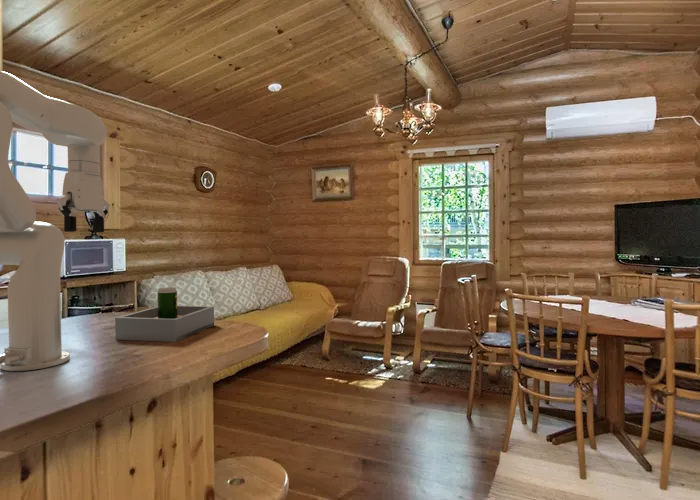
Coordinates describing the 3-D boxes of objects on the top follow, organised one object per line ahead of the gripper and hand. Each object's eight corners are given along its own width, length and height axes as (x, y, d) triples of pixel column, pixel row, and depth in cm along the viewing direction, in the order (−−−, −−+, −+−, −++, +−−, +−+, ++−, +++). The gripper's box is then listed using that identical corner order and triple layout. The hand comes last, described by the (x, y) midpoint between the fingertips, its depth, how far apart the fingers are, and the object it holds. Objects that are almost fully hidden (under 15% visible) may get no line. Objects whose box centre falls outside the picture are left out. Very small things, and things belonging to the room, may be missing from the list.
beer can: (161, 331, 125) (160, 290, 124) (155, 328, 129) (155, 288, 128) (180, 328, 128) (179, 288, 128) (174, 325, 132) (173, 286, 132)
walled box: (175, 341, 116) (175, 319, 116) (115, 339, 119) (115, 317, 119) (214, 325, 138) (213, 306, 138) (162, 323, 141) (162, 305, 141)
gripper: (96, 175, 128) (97, 232, 129) (44, 164, 111) (45, 231, 112) (118, 174, 127) (119, 232, 127) (69, 163, 110) (70, 231, 110)
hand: (85, 232), depth 119 cm, fingers open, 9 cm apart
